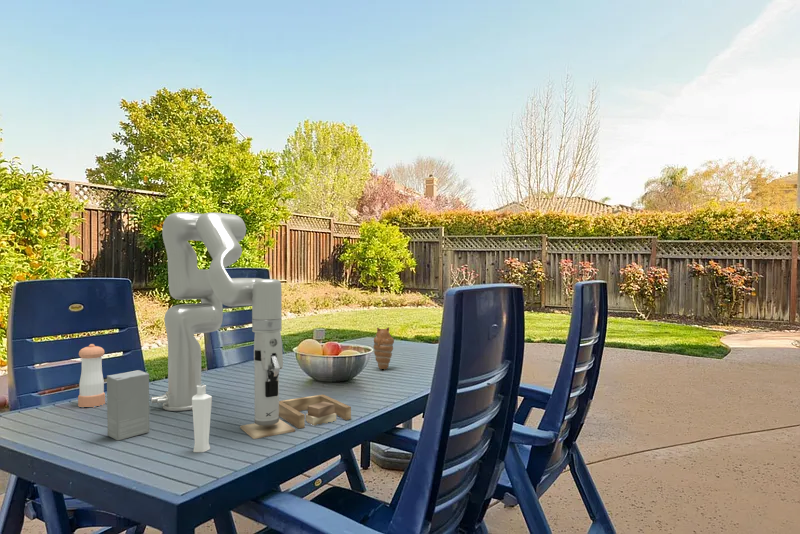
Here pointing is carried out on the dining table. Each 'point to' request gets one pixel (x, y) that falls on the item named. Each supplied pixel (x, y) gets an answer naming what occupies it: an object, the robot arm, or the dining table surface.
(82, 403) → the pepper shaker
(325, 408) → the offcut upper
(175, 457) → the dining table surface
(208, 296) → the robot arm
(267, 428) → the cork mat
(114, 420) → the skincare box
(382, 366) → the cat ice cream
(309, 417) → the offcut lower
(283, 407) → the frame
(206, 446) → the perfume bottle
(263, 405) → the travel mug
